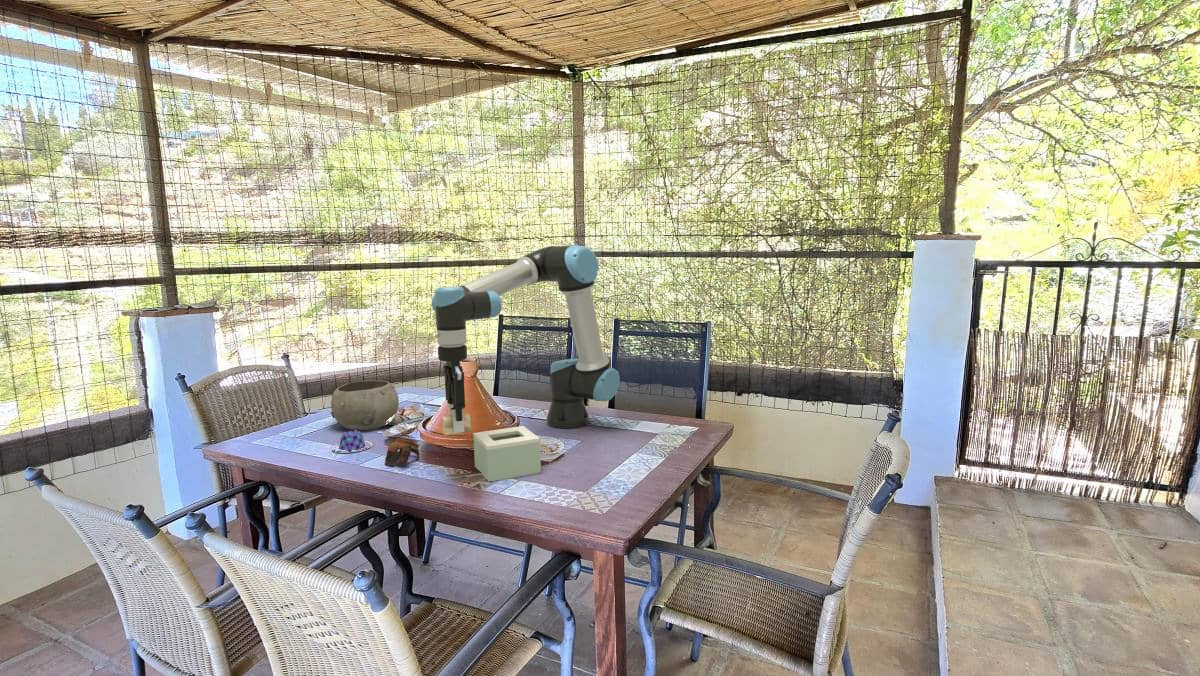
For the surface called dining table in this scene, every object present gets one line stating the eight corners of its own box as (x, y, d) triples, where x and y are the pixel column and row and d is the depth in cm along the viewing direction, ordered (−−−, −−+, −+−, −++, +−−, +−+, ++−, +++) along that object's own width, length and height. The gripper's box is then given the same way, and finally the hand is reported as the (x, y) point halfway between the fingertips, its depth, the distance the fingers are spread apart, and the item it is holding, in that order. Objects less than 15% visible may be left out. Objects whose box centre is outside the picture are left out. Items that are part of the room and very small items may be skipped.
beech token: (469, 428, 169) (468, 414, 168) (471, 432, 165) (470, 417, 165) (443, 430, 167) (442, 416, 166) (444, 435, 163) (443, 420, 162)
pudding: (327, 456, 188) (326, 439, 188) (337, 444, 200) (336, 428, 199) (368, 453, 190) (366, 437, 189) (376, 442, 202) (375, 426, 201)
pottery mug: (379, 463, 182) (389, 436, 185) (409, 472, 186) (418, 445, 189) (388, 464, 172) (398, 436, 174) (419, 473, 176) (429, 446, 179)
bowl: (344, 417, 232) (341, 379, 229) (406, 415, 234) (403, 376, 232) (323, 435, 209) (320, 392, 207) (392, 432, 211) (389, 390, 209)
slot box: (524, 458, 183) (523, 425, 182) (540, 472, 171) (539, 438, 169) (474, 466, 177) (473, 433, 175) (488, 482, 164) (487, 446, 163)
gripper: (431, 341, 168) (436, 423, 172) (445, 350, 153) (450, 440, 156) (458, 339, 172) (462, 420, 175) (474, 348, 156) (479, 436, 160)
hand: (456, 429), depth 166 cm, fingers closed on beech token, 4 cm apart
